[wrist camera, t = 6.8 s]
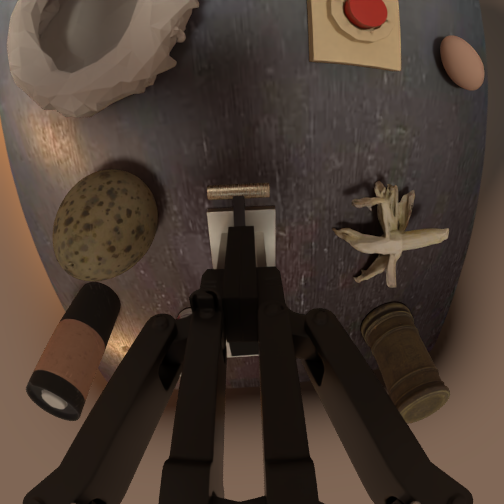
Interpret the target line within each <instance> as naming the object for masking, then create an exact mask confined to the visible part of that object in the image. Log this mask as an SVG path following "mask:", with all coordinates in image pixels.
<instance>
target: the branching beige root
mask: <svg viewBox="0 0 504 504" xmlns="http://www.w3.org/2000/svg"><path fill="white" fill-rule="evenodd" d="M374 187H375V188H374V190H375V194H376V197H377V198H376V197H373V198H369V197H364V198H362V199H353V200H352V206H355V207H357V208H361V207H364V206H367V207H368V208H369V209H370V210H372V209H371V206H373V205H375V204H377V215H378V220H379V222H380V225H381V227H382V229H383V232H384V234H383V235H382V236H381V237H378V236H372V235H367V234H361V233H359V232H357V231H354V230H352V229H350V228H343V229H341V230H336V229H335V228H332V229H333V231H334V232H335V234H336V235H337V236H338V237H340V238H342V239H344V240H345V241H346V242H348V243H350V245H351V246H352V247H354V248H355V249H357V250H358V251H361V252H363V253H369V254H373V253H378V254H379V255H378V257H377V258H376V260H375V261H374V262H373V263H372V264H371V266H370V267H369V268H368V269H367V270H361V271H362V274H361V275H360V276H358V277H357V278H355V277H353V278H354V279H355V281H356V282H357V283H360V282H361V281H363V280H367V279H369V278H371V277H373V276H375V275H376V274H378V273H380V274H381V273H382V272H383V271H384V270H385V269H386V277H387V285H388V287H391V288H392V287H396V271H395V267H396V261H397V260H398V258H399V257H400V256H401V253H402V251H404V250H409V249H416V248H421V247H425V246H428V245H431V244H437V243H441V242H442V241H443V240H445V239H447V238H448V234H449V229H435V228H433V229H421V230H412V231H407V232H404V231H405V229H406V227H407V225H408V221H409V218H410V216H411V212H412V208H413V202H414V198H415V193H414V190H411V192H409V193H408V194H406V195H403V197H402V199H401V201H400V202H399V203H398V189H397V186H396V185H395V186H392V185H390V184H388V187H387V190H386V187H384V185H383V184H382V183H381V182H380V181H377V182H376V183H375V186H374ZM380 254H381V255H380Z"/></svg>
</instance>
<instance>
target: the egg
mask: <svg viewBox="0 0 504 504" xmlns="http://www.w3.org/2000/svg"><path fill="white" fill-rule="evenodd" d="M440 54H441V60H442V63H443V66H444V68H445V70H446V72H447V74H448V76H449V77H450V78H451V79H452V80H453V81H454V82H455V83H456V84H457V85H458V86H460V87H462V88H464V89H467V90H476V89H478V88H479V87H480V86H481V85H482V83H483V80H484V67H483V64H482V61H481V59H480V57H479V55H478V54H477V52H476V51H475V50H474V49H473V47H471V46H470V45H469V44H468V43H467V42H466V41H464V40H463V39H461V38H459V37H457V36H447V37H445V38H444V39H443V40H442V42H441V46H440Z"/></svg>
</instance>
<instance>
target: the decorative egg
mask: <svg viewBox="0 0 504 504" xmlns="http://www.w3.org/2000/svg"><path fill="white" fill-rule="evenodd" d="M157 224H158V211H157V205H156V202H155V199H154V196H153V194H152V192H151V191H150V189H149V188H148V186H147V185H146V184H145V183H144V182H143V181H142V180H141V179H140V178H138V177H137V176H135V175H133V174H131V173H129V172H126V171H123V170H117V169H108V170H102V171H98V172H95V173H93V174H90V175H88V176H86V177H85V178H83V179H82V180H80V181H79V182H78V183H77V184H76V185H75V186H74V187H73V188H72V189H71V190H70V191H69V192H68V194H67V195H66V196H65V198H64V200H63V201H62V203H61V205H60V207H59V210H58V212H57V215H56V218H55V222H54V227H53V247H54V252H55V255H56V258H57V260H58V262H59V264H60V265H61V267H62V268H63V269H64V270H65V271H66V272H67V273H68V274H69V275H71V276H73V277H75V278H77V279H80V280H84V281H102V280H106V279H110V278H113V277H115V276H118V275H120V274H122V273H124V272H125V271H127V270H129V269H130V268H131V267H133V266H134V265H135V264H136V263H137V262H138V261H139V260H140V259H141V258H142V257H143V256H144V255H145V253H146V252H147V251H148V249H149V247H150V245H151V244H152V241H153V239H154V237H155V233H156V230H157Z"/></svg>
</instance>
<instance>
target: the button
mask: <svg viewBox="0 0 504 504" xmlns="http://www.w3.org/2000/svg"><path fill="white" fill-rule="evenodd" d="M344 10H345V14H346V16H347V18H348V19H349V20H350V21H351V22H352V23H353V24H354V25H356V26H358V27H360V28H364V29H371V28H374V27H377V26H380V25H382V24H383V23H384V22H385V21H386V19H387V15H388V12H387V8H386V5H385V4H384V2H383V1H382V0H347V1H346V2H345V6H344Z"/></svg>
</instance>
